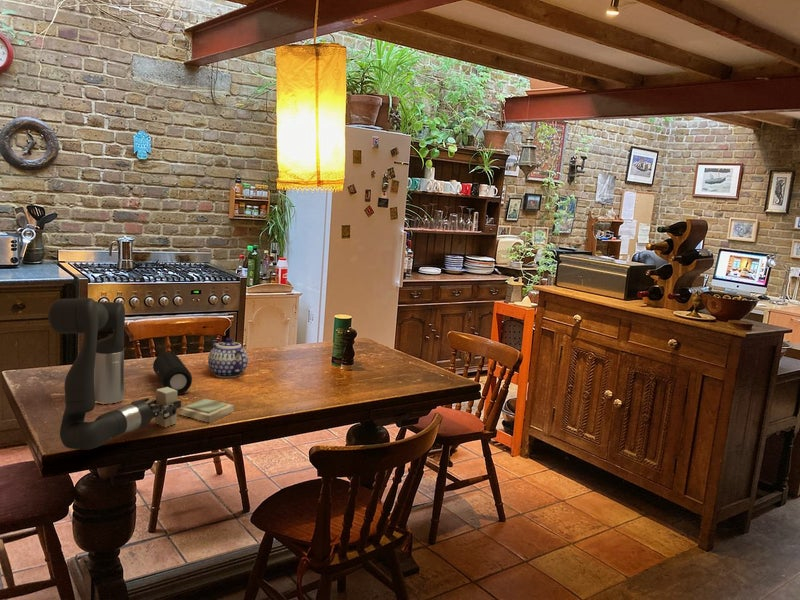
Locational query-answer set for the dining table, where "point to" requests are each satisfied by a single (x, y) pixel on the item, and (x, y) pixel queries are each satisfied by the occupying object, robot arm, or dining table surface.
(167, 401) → the box
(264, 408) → the dining table surface
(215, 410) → the birch base
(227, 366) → the teapot
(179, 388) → the portable speaker
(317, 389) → the dining table surface
